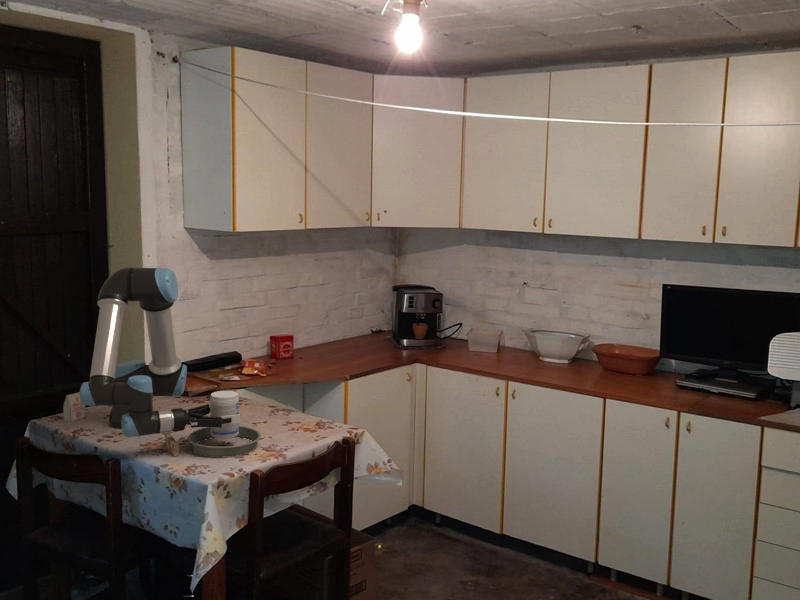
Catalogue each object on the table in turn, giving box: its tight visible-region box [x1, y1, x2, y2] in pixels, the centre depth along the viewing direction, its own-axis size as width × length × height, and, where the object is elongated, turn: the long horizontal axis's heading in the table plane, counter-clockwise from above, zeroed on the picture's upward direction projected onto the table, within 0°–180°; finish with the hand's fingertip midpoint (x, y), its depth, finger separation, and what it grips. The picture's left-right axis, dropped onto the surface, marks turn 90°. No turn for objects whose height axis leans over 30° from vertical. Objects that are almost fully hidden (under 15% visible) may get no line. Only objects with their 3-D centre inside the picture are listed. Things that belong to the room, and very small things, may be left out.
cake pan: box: [187, 425, 262, 458], centre depth 266 cm, size 25×25×4 cm
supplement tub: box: [209, 390, 240, 440], centre depth 265 cm, size 10×10×15 cm
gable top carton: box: [62, 391, 87, 423], centre depth 293 cm, size 4×7×10 cm, turn 151°
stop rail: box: [164, 432, 180, 457], centre depth 261 cm, size 14×2×4 cm, turn 29°
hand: (234, 413), depth 267 cm, fingers open, 13 cm apart
